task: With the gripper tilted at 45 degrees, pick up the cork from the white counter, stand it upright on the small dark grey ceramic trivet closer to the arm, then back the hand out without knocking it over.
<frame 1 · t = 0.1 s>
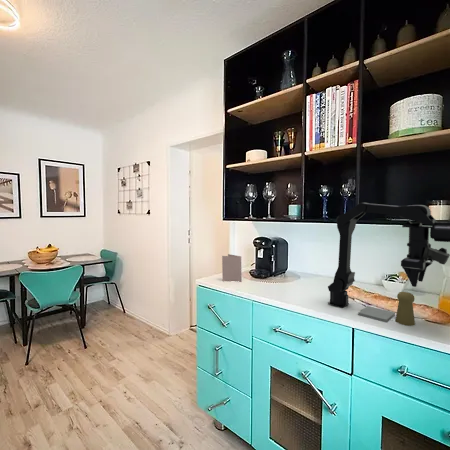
hand: (417, 283, 95), 15 cm above the worktop, tool pointing down, fingers open, 9 cm apart
trivet: (376, 314, 104), on the worktop
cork: (405, 322, 97), on the worktop
greeting card: (231, 281, 157), on the worktop
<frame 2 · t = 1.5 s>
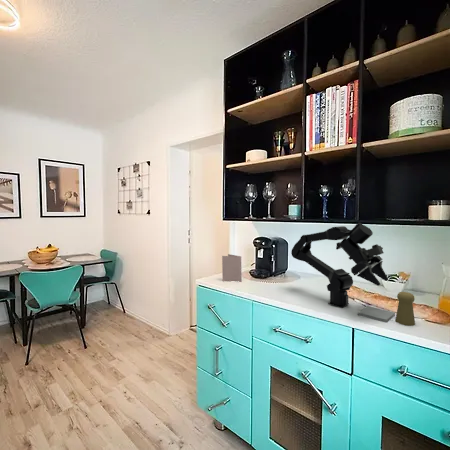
hand: (383, 282, 102), 13 cm above the worktop, tool tilted 45°, fingers open, 9 cm apart
nothing on the worktop moved.
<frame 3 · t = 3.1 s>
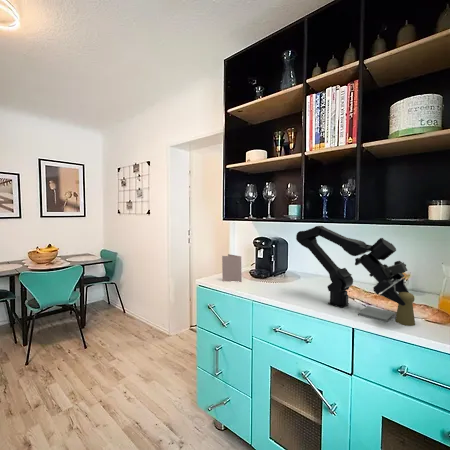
hand: (407, 301, 96), 8 cm above the worktop, tool tilted 45°, fingers open, 9 cm apart
nothing on the worktop moved.
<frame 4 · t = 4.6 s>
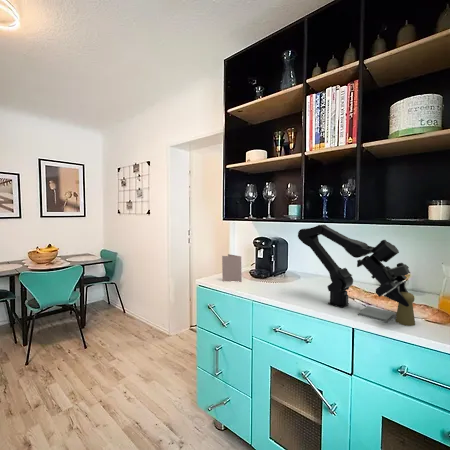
hand: (410, 304, 96), 7 cm above the worktop, tool tilted 45°, fingers closed on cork, 5 cm apart
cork: (405, 322, 97), on the worktop, touching gripper
everything else where it was.
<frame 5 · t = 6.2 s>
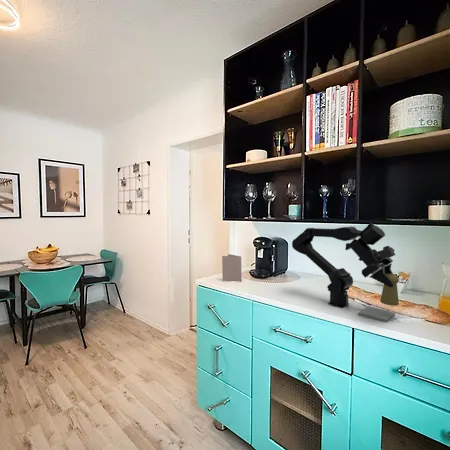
hand: (394, 285, 99), 13 cm above the worktop, tool tilted 45°, fingers closed on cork, 5 cm apart
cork: (389, 303, 101), point 6 cm above the worktop, touching gripper
everything else where it was.
when the fingers open (9 cm above the worktop, at t = 8.3 s): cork drops 1 cm, resting on trivet.
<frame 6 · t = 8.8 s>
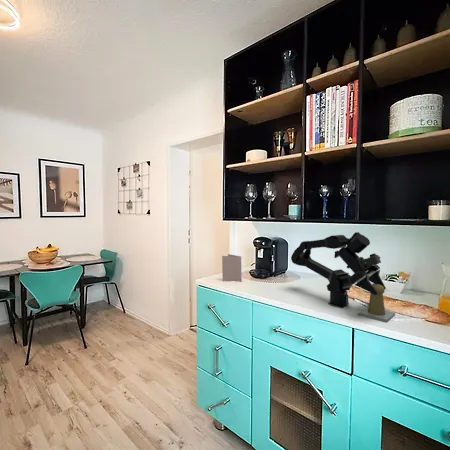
hand: (381, 291, 103), 10 cm above the worktop, tool tilted 45°, fingers open, 9 cm apart
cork: (376, 312, 104), point 1 cm above the worktop, touching trivet
everything else where it was.
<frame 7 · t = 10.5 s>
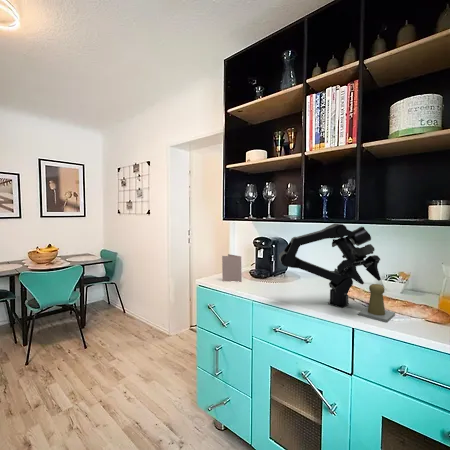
hand: (371, 282, 104), 13 cm above the worktop, tool tilted 45°, fingers open, 9 cm apart
nothing on the worktop moved.
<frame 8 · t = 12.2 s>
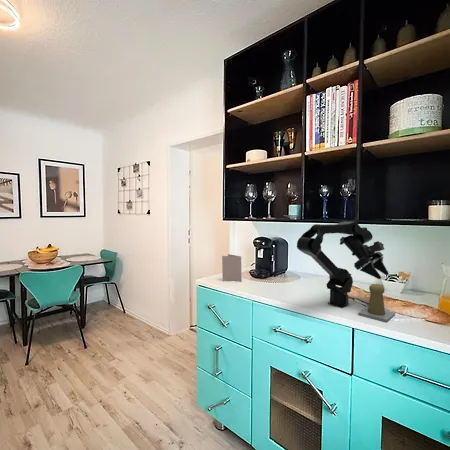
hand: (384, 276, 110), 14 cm above the worktop, tool tilted 45°, fingers open, 9 cm apart
nothing on the worktop moved.
at the end: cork inside the target area on the trivet (0.1 cm from its centre), point 0.8 cm above the trivet's base; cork tilted 0°; the gripper is holding nothing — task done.
